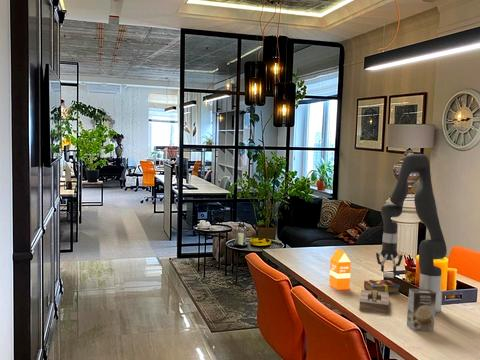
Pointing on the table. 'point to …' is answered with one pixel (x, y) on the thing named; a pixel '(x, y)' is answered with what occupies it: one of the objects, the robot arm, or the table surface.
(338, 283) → the orange juice
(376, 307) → the pocket block
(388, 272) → the tile
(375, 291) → the button lever
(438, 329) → the table surface
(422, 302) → the coffee box
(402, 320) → the table surface
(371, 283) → the decorative book
